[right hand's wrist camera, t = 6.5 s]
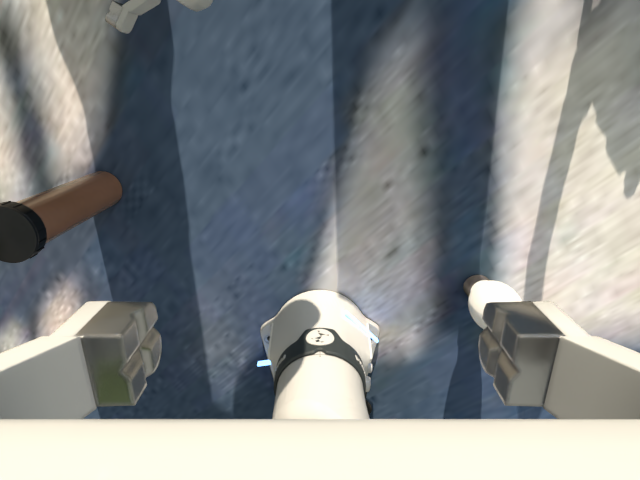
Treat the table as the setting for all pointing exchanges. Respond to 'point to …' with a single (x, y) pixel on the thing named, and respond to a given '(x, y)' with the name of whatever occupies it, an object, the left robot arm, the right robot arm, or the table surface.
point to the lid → (20, 232)
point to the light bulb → (486, 295)
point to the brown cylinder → (74, 202)
